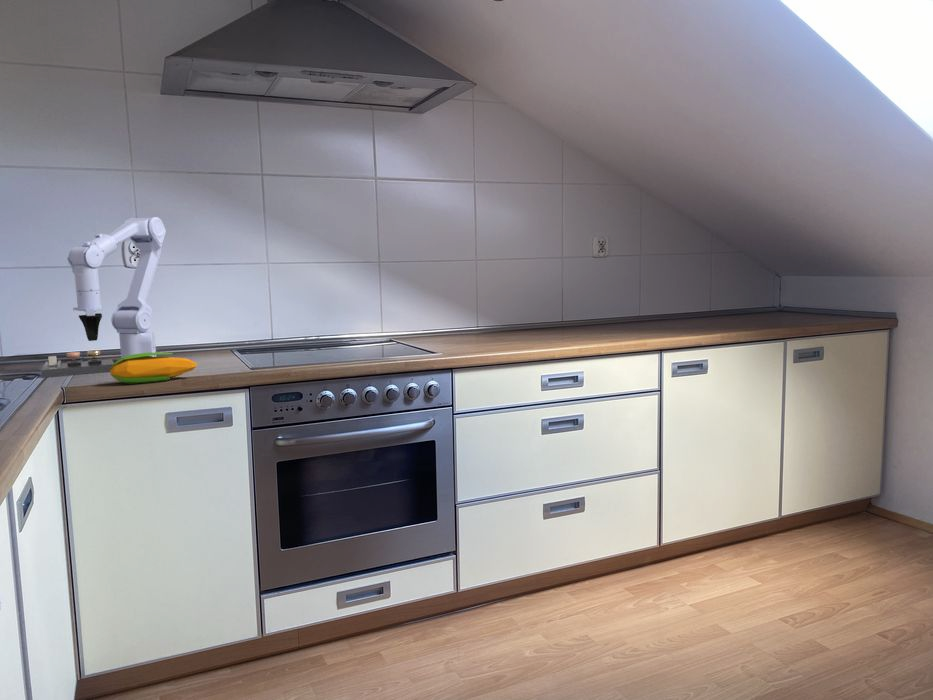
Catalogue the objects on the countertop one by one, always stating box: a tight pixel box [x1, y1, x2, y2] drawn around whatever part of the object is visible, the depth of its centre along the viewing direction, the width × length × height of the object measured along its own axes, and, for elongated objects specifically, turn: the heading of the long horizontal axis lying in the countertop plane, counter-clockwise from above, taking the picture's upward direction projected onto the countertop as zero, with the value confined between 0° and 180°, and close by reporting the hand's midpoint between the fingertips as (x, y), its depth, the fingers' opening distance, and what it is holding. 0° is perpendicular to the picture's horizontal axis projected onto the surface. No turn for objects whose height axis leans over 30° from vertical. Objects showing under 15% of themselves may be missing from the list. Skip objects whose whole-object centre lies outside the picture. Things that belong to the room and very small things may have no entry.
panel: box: [41, 358, 115, 379], centre depth 190 cm, size 17×11×3 cm, turn 119°
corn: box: [109, 352, 198, 385], centre depth 173 cm, size 7×8×20 cm
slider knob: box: [48, 355, 58, 365], centre depth 189 cm, size 2×2×2 cm
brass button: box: [87, 349, 102, 360], centre depth 192 cm, size 3×3×2 cm
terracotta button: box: [65, 351, 81, 361], centre depth 189 cm, size 3×3×2 cm
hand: (92, 340), depth 191 cm, fingers closed
